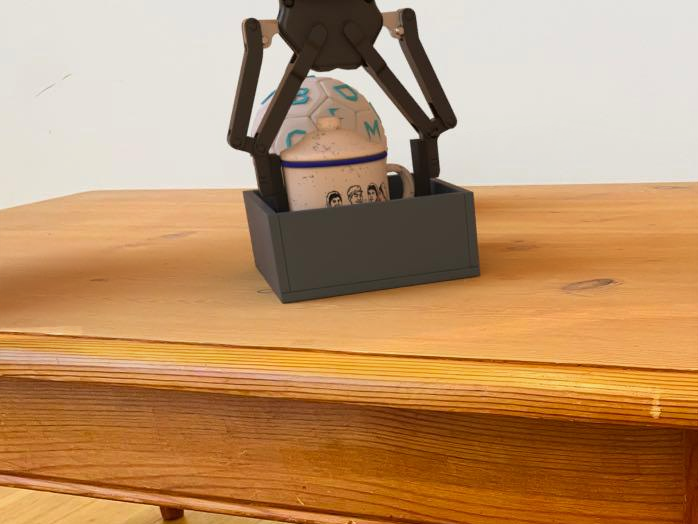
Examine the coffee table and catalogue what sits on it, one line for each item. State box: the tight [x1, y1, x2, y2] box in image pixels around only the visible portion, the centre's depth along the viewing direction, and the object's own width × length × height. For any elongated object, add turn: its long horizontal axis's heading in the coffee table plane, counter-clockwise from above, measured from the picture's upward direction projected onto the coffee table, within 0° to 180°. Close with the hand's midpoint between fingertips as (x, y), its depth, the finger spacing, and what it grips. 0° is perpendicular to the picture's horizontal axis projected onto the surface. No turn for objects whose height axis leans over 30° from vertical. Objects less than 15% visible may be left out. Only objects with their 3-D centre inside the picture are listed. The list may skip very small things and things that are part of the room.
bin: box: [242, 172, 481, 304], centre depth 93 cm, size 17×17×7 cm
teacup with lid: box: [279, 116, 415, 212], centre depth 92 cm, size 12×9×12 cm
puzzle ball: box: [249, 74, 389, 182], centre depth 120 cm, size 15×15×15 cm
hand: (357, 227), depth 93 cm, fingers closed on teacup with lid, 12 cm apart
